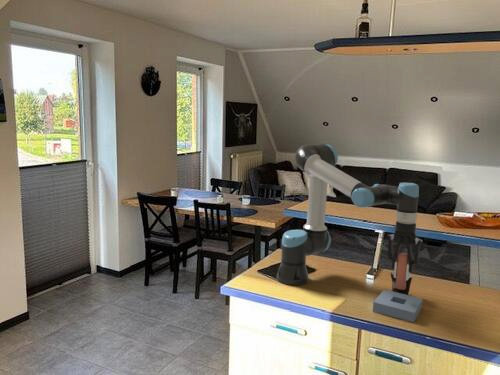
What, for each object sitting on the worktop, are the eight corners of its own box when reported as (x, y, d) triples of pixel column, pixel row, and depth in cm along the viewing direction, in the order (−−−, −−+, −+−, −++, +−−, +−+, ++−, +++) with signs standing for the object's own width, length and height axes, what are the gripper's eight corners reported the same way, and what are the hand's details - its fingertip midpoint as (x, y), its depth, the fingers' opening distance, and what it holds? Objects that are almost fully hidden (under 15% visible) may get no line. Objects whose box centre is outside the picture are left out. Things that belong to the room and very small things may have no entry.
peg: (394, 288, 170) (396, 254, 168) (396, 285, 174) (399, 252, 172) (404, 290, 168) (407, 256, 166) (406, 287, 172) (409, 254, 170)
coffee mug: (411, 300, 182) (414, 278, 180) (391, 298, 183) (393, 276, 182) (407, 290, 193) (409, 269, 191) (387, 288, 195) (389, 267, 193)
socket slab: (372, 311, 171) (373, 302, 170) (383, 297, 184) (384, 289, 183) (413, 322, 162) (414, 312, 161) (421, 307, 175) (422, 298, 175)
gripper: (381, 220, 168) (377, 276, 172) (427, 226, 159) (421, 285, 163) (386, 217, 174) (382, 270, 178) (430, 223, 165) (425, 279, 169)
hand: (401, 277), depth 170 cm, fingers closed on peg, 4 cm apart
